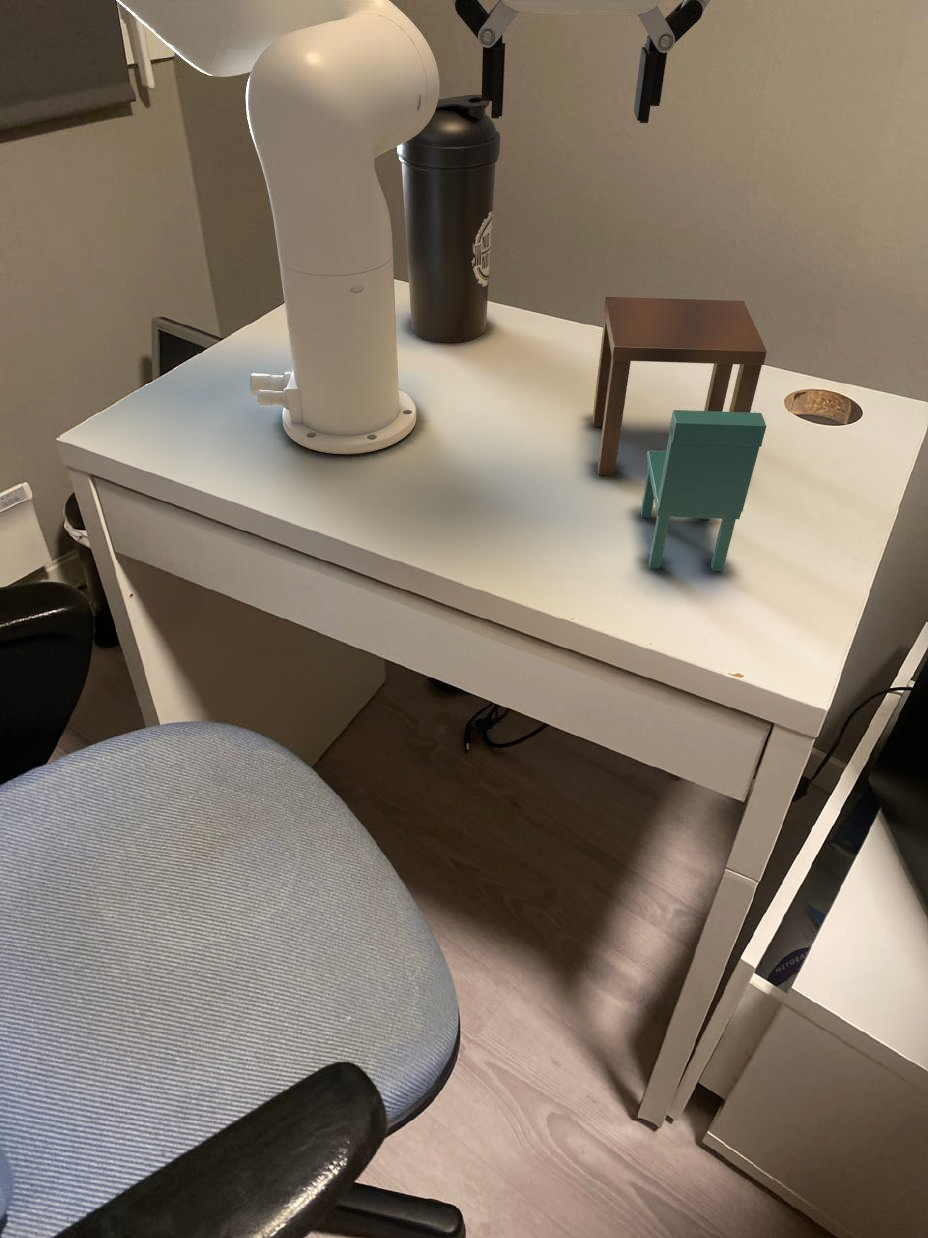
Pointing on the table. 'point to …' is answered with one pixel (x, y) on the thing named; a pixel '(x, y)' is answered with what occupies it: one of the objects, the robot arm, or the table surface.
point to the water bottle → (450, 219)
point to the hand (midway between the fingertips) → (568, 115)
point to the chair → (702, 474)
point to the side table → (673, 354)
